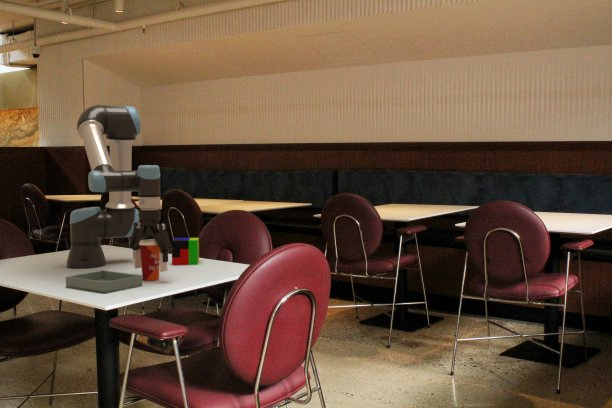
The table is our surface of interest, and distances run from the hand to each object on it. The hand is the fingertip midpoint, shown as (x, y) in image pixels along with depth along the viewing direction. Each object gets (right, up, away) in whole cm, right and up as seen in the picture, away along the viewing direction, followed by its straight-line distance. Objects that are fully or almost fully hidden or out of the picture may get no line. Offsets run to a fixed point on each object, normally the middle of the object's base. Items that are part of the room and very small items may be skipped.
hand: (150, 269), depth 241 cm
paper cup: (0, -4, 0) cm, 4 cm away
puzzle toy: (+6, -1, +37) cm, 38 cm away
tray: (-13, -4, -13) cm, 19 cm away
